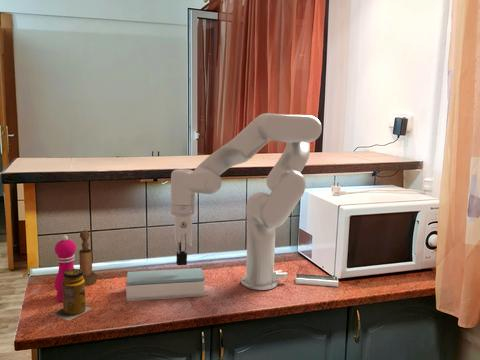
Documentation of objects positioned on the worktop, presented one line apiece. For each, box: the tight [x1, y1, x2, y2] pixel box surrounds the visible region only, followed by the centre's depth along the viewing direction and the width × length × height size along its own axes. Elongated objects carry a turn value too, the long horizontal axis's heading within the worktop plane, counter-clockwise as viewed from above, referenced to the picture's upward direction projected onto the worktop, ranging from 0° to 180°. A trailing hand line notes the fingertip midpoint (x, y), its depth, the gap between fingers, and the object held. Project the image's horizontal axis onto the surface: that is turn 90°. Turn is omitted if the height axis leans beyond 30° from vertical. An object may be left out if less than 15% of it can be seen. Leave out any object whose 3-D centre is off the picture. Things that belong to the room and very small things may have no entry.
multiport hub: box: [295, 273, 339, 288], centre depth 147 cm, size 4×14×2 cm, turn 83°
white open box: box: [125, 280, 206, 302], centre depth 136 cm, size 24×9×5 cm, turn 102°
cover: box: [125, 267, 206, 285], centre depth 135 cm, size 24×9×1 cm, turn 102°
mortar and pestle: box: [78, 229, 97, 287], centre depth 141 cm, size 7×6×18 cm
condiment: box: [51, 268, 93, 322], centre depth 121 cm, size 7×8×12 cm
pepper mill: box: [53, 234, 77, 303], centre depth 129 cm, size 7×7×20 cm
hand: (181, 264), depth 135 cm, fingers closed
